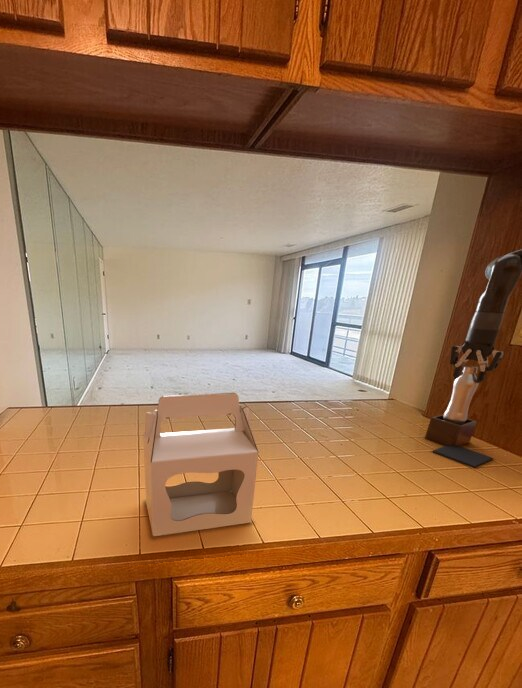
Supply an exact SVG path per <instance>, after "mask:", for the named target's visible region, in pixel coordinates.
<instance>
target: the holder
mask: <svg viewBox="0 0 522 688" xmlns="http://www.w3.org/2000/svg"><path fill="white" fill-rule="evenodd" d="M443 415H444V413H442V414H438V415H435V416H432V417H430V419H429V423H428V426H427V429H426V433H425V435H424V439H426V440H428V441H431V442H435V443H437V444H440V445H443V446H447V445H450V446H453V447H455V446H460V447H463V446H465V445H467V444H470V442H471V439H472V437H473V434H474V432H475V428H476V426H477V424H478V421H477V420H474V419H470V418H467V420H466V422H465V423H464V424H463V425H457V424H454V423H451V422H447V421H444V420H443Z"/></svg>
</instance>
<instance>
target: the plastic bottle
mask: <svg viewBox="0 0 522 688" xmlns="http://www.w3.org/2000/svg"><path fill="white" fill-rule="evenodd" d="M478 369H479V367H478V366H475V365H463V369H462V372H461V375H460V376H458V377H457V378H456V379H455V378H454V381H453V384H452V385H453V386H452V392H451V397H450V401H449V403H448V404H447V407H446V410H445V411H444V413H443V414H444V415H443V420H444V421H447V422H451V423H454V424H457V425H463V424H464V423H465V422H466V420H467V419H468V416H469V415H468V414H469V413H468V412H469V408H470V403H471V402H472V399H473V397H474V394H475V392H476V391H477V389H478V387H479V384H480V383H476V380H477V377H478V376H477V375H476V374H478Z"/></svg>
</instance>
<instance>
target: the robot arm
mask: <svg viewBox="0 0 522 688" xmlns="http://www.w3.org/2000/svg"><path fill="white" fill-rule="evenodd" d="M484 274H485V278H486V279H487V280H488V282H487V285H486V287H485V290H484V291H483V292H482V294H481V295H480V296H479V299H478V302H477V305H476V309H475V312H474V314H473V316H472V318H471V321H470V323H469V328H468V331H467V333H466V337H465V341H464V343H463V345H453V346H451V350H450V351H451V352H450V360H449V364H450V365H453V366H454V371H453V374H452V376H453V378H454V380H455V379H456V378H457V377H458V376H460V375H461V374H462V373H463V372H462V370H463V368H464V366H465V364H466V363H467V362H468V361H471V360H473V361H475V362H478V365H479V369H480V370H479V372H478V373H477V374H478V375H477V376H476V377H477V380H476V383H479V384H482V382H484V381H485V379H486V377H487V374H488V372H489V371H490V372H491V371H495V370H497V368H498V366H499V365H500V363H501V361H502V359H503V357H504V355H505V351H503V350H502V351H500V350H496V349H495V344H496V342H497V338H498V336H499V333H500V329H501V327H502V323H503V321H504V316H505V312H506V310H507V306H508V303H509V299H510V296H511V295H512V293H513V291H514V290H515V288H516V286H517V284H518V282H519V280H520V278H521V276H522V249H519V250H515V251H513V252H510V253H506V254H504V255H502V256H499V257H496V258H494V259H492V261H491V262H489V263H488V264H487V266H486V268H485V270H484ZM461 351H462V353H463V355H462V356H461V357H460V358H459V355H460V353H461ZM491 355H492V358H493V359H492V360H491V362H490V364H489V358H488V357H489V356H491Z"/></svg>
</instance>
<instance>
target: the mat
mask: <svg viewBox="0 0 522 688" xmlns="http://www.w3.org/2000/svg"><path fill="white" fill-rule="evenodd" d="M432 453H434V454H436V455H439V456H441V457H444V458H447V459H449V460H452V461H455V462H457V463H460V464H463V465H466V466H469V467H471V468H472V469H473V468H474V469H475V468H477V467H479V466H481V465H484V464H485V463H488V462H490V461H492V460H494V457H492V456H489V455H486V454H484V453H480V452H478V451H474V450H472V449H469V448H466V447H463V446H455V447H453V446H450V445H447V446H445V445H443V446H441V447H439V448H437V449H434V450H432Z"/></svg>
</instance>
